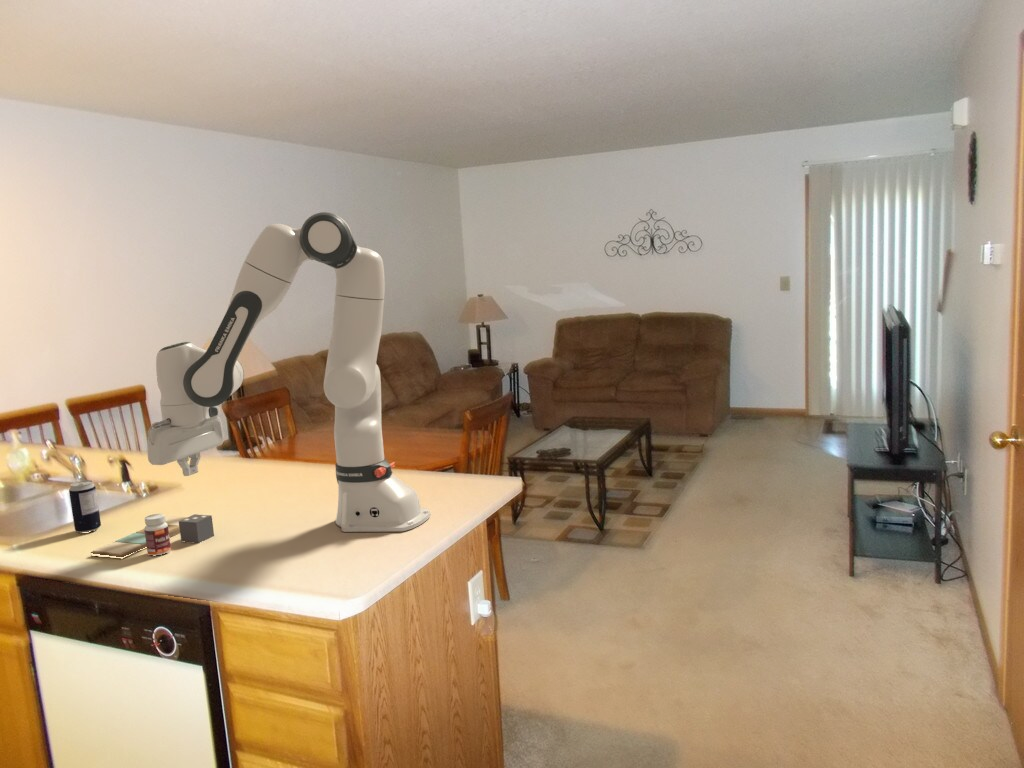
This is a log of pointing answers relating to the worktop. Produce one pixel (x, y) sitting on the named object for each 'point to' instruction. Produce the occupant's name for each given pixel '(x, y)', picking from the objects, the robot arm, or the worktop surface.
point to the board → (135, 540)
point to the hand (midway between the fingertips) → (190, 474)
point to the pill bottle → (157, 535)
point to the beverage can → (84, 506)
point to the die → (196, 528)
